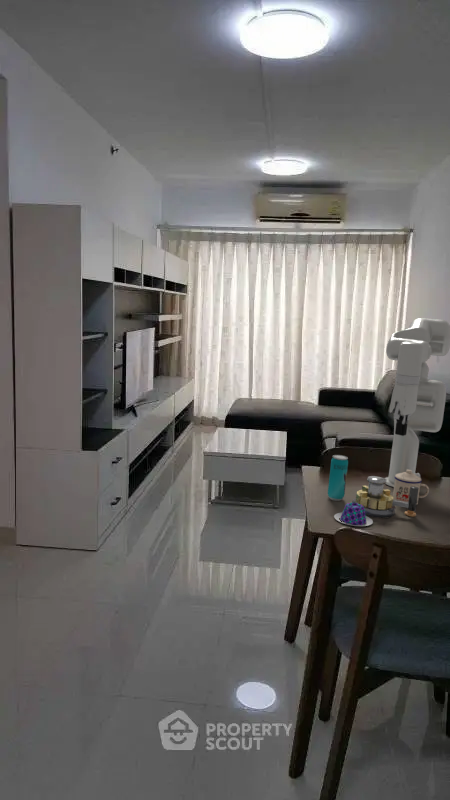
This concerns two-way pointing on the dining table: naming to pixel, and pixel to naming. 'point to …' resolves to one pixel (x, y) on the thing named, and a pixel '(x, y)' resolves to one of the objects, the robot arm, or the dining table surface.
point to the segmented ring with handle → (386, 499)
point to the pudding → (354, 515)
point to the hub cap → (375, 492)
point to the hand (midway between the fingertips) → (400, 434)
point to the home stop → (410, 513)
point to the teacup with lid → (407, 486)
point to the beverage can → (337, 477)
